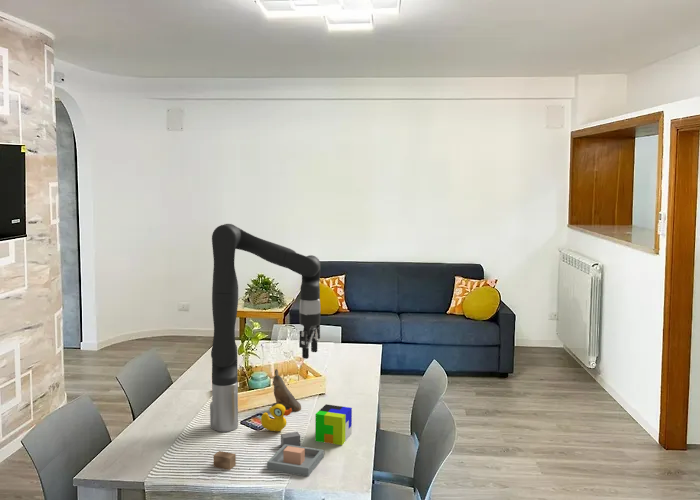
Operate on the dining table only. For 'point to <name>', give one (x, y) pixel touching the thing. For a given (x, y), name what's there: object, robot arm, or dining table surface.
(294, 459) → the terracotta brick
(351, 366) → the dining table surface
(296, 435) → the charcoal brick
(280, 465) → the slate tray
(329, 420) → the puzzle toy
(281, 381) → the worn brown figurine
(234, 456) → the walnut brick
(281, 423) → the duckling
